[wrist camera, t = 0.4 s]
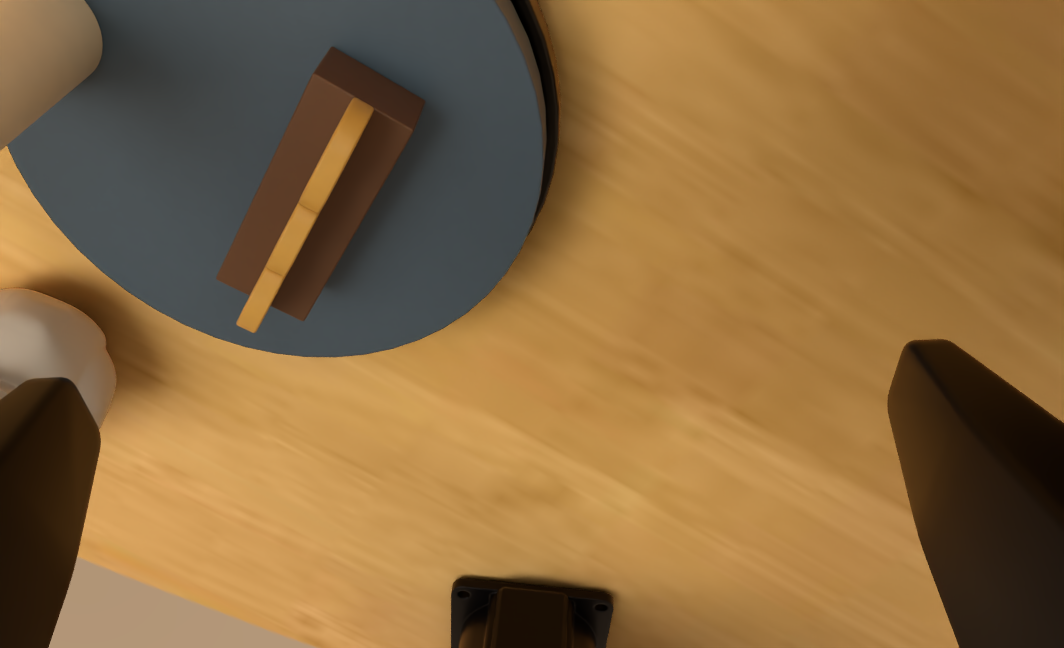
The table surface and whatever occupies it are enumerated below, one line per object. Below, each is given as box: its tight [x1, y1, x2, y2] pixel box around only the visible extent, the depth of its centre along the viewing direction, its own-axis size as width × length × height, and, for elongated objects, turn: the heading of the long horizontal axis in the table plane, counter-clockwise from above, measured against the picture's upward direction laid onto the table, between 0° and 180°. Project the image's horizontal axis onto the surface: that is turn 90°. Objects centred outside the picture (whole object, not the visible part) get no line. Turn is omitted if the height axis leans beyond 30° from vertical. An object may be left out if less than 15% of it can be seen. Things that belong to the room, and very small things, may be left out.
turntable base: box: [510, 0, 561, 236], centre depth 23 cm, size 14×14×1 cm
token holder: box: [0, 0, 547, 357], centre depth 18 cm, size 13×13×11 cm
